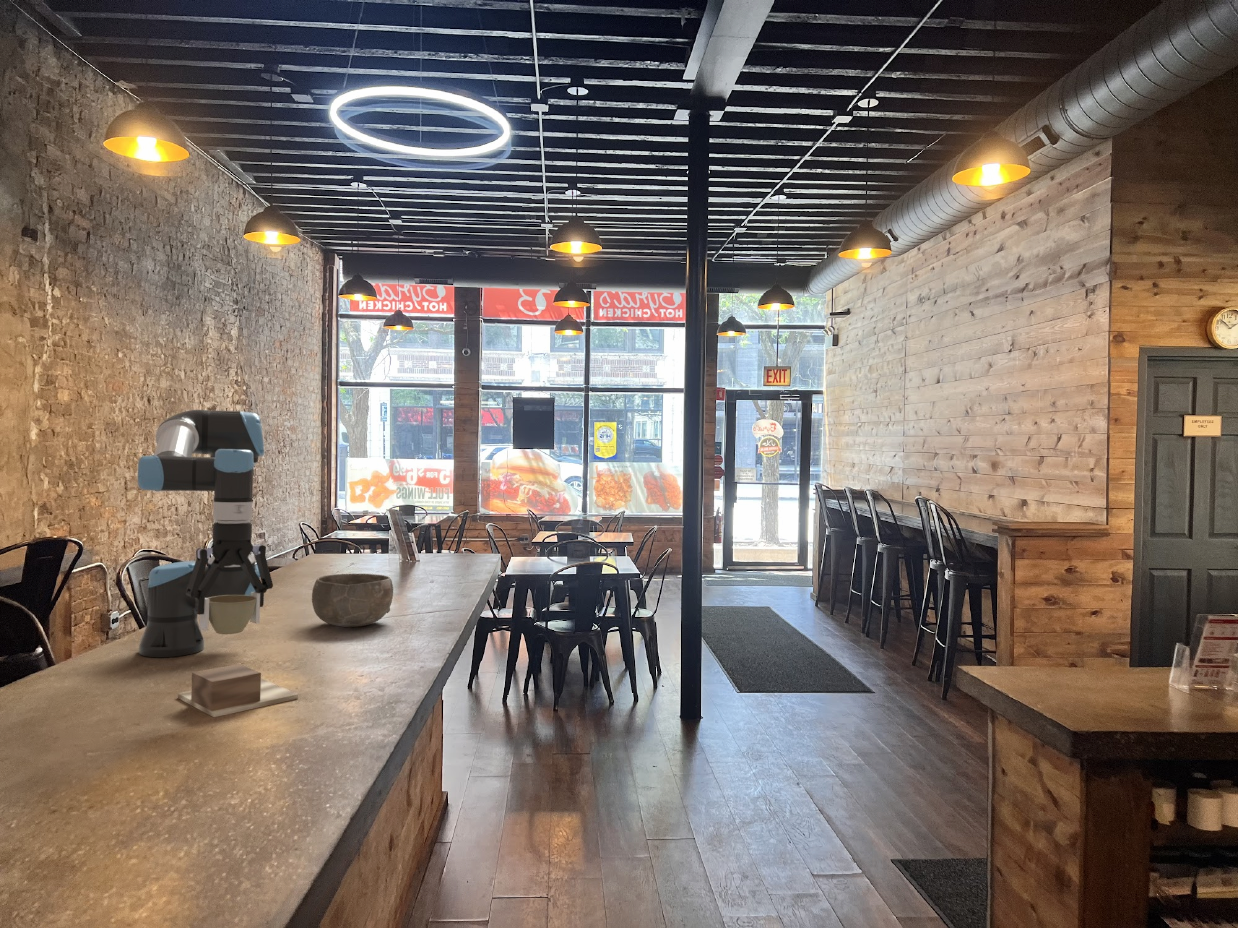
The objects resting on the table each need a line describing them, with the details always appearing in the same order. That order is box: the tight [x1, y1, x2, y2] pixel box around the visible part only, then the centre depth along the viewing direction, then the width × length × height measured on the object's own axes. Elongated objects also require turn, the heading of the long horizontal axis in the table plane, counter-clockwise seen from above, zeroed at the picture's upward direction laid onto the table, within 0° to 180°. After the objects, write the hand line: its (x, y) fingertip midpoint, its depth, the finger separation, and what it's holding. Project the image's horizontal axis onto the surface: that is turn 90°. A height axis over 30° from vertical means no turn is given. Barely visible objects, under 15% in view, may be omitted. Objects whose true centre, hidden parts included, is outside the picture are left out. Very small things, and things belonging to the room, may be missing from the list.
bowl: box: [311, 573, 394, 628], centre depth 251 cm, size 24×24×15 cm
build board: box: [177, 677, 299, 718], centre depth 176 cm, size 18×18×1 cm
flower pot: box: [208, 595, 257, 635], centre depth 171 cm, size 10×10×7 cm
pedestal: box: [191, 663, 262, 711], centre depth 170 cm, size 10×10×6 cm
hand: (229, 625), depth 171 cm, fingers closed on flower pot, 10 cm apart
